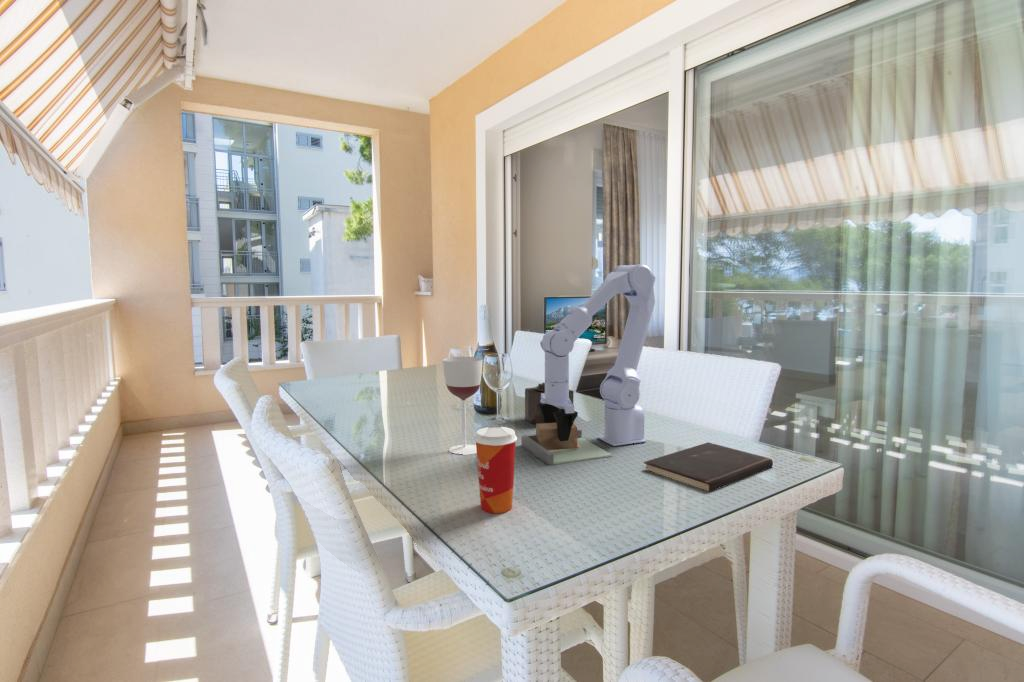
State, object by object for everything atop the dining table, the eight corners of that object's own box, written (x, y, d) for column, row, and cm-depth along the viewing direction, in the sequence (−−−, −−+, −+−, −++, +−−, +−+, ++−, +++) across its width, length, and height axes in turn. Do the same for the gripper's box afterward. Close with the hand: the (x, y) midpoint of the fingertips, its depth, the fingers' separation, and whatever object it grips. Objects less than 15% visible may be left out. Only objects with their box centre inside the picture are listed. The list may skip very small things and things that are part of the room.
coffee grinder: (521, 420, 161) (521, 358, 159) (553, 415, 166) (552, 355, 164) (553, 432, 148) (552, 365, 146) (585, 426, 153) (585, 362, 151)
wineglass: (469, 457, 127) (468, 363, 125) (437, 451, 132) (435, 360, 130) (491, 447, 135) (489, 358, 132) (459, 442, 140) (457, 355, 137)
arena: (579, 437, 142) (579, 428, 142) (611, 456, 127) (612, 446, 127) (521, 445, 136) (521, 435, 136) (548, 465, 122) (548, 454, 121)
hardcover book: (643, 472, 118) (643, 461, 118) (707, 451, 132) (707, 442, 132) (709, 494, 106) (709, 483, 105) (772, 469, 119) (773, 459, 119)
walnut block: (540, 450, 130) (539, 429, 130) (536, 443, 136) (535, 423, 135) (577, 448, 131) (577, 427, 131) (572, 441, 137) (572, 421, 136)
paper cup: (474, 499, 103) (473, 426, 101) (515, 498, 104) (515, 425, 102) (475, 517, 95) (474, 438, 94) (520, 515, 96) (519, 437, 94)
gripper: (529, 376, 137) (529, 430, 139) (554, 387, 124) (554, 446, 125) (555, 374, 140) (555, 427, 141) (582, 384, 126) (582, 442, 128)
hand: (556, 436), depth 133 cm, fingers open, 7 cm apart
